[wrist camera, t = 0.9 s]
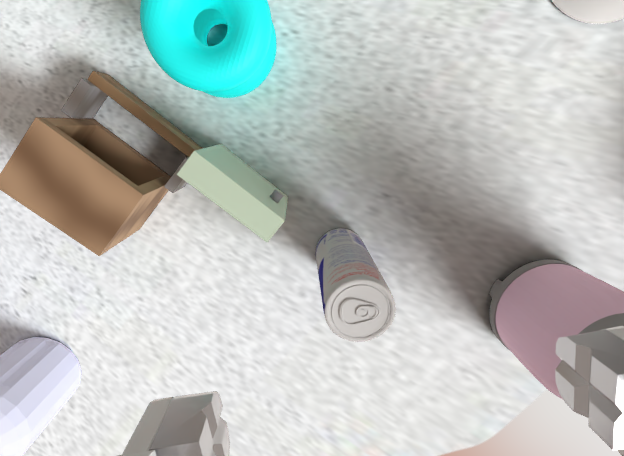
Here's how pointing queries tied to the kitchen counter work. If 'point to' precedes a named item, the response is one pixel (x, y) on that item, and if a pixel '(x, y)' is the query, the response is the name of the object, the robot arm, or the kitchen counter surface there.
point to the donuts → (211, 59)
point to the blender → (550, 312)
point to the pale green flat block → (236, 189)
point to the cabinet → (92, 168)
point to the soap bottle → (33, 390)
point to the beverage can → (352, 287)
